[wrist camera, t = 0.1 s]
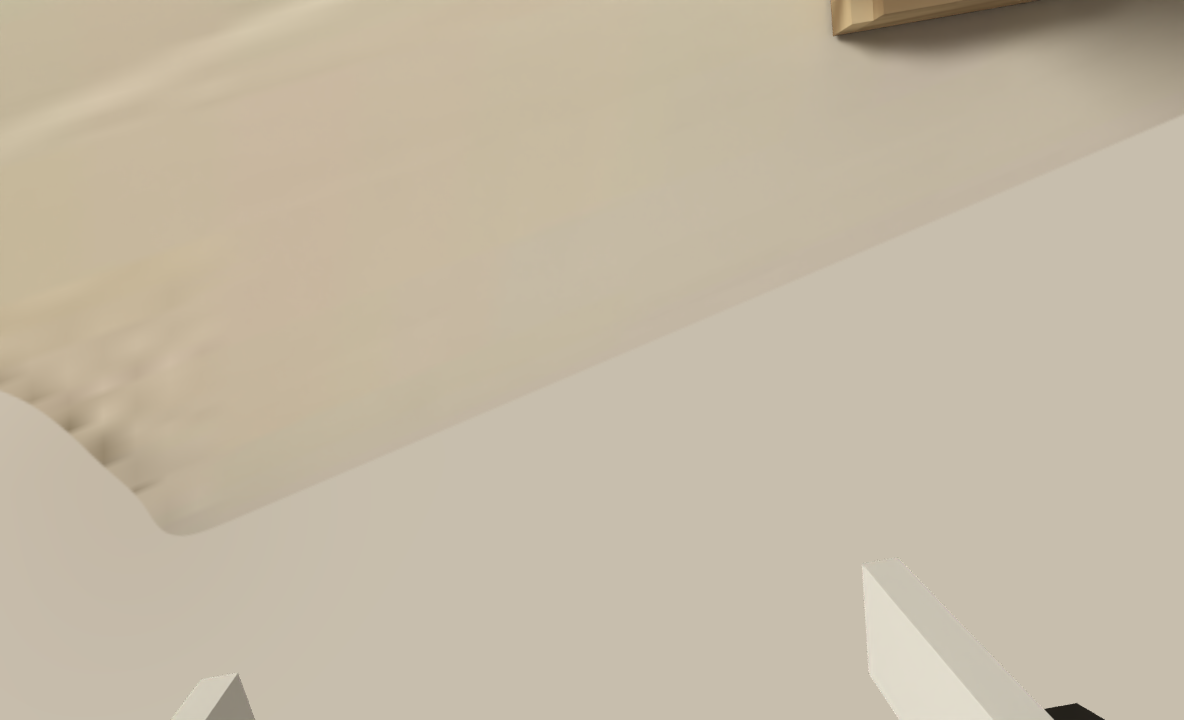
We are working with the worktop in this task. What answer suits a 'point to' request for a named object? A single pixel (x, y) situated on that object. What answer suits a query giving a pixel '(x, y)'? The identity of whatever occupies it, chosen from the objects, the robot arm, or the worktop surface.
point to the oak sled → (901, 12)
